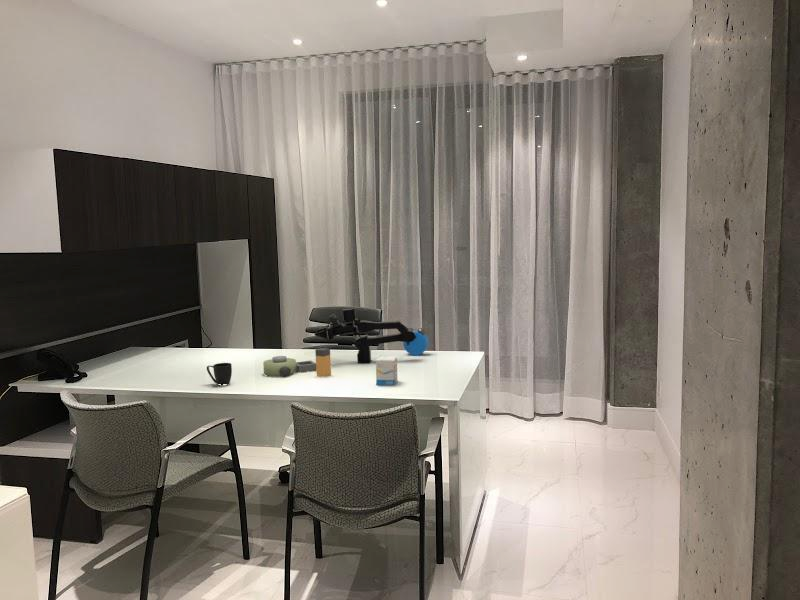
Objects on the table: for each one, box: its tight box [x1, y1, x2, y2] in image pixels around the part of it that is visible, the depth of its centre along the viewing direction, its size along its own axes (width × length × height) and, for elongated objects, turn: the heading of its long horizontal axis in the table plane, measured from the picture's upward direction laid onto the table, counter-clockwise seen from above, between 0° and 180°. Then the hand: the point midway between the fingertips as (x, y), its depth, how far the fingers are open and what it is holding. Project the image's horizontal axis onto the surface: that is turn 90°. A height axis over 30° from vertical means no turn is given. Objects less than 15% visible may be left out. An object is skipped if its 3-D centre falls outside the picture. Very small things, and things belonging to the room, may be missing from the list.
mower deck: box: [262, 355, 316, 378], centre depth 327 cm, size 26×20×8 cm
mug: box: [206, 362, 233, 385], centre depth 305 cm, size 8×12×10 cm
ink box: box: [375, 355, 398, 386], centre depth 297 cm, size 9×8×12 cm
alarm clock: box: [402, 327, 429, 356], centre depth 360 cm, size 13×6×15 cm, turn 74°
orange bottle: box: [315, 347, 332, 377], centre depth 317 cm, size 5×5×13 cm
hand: (315, 333), depth 343 cm, fingers open, 9 cm apart
